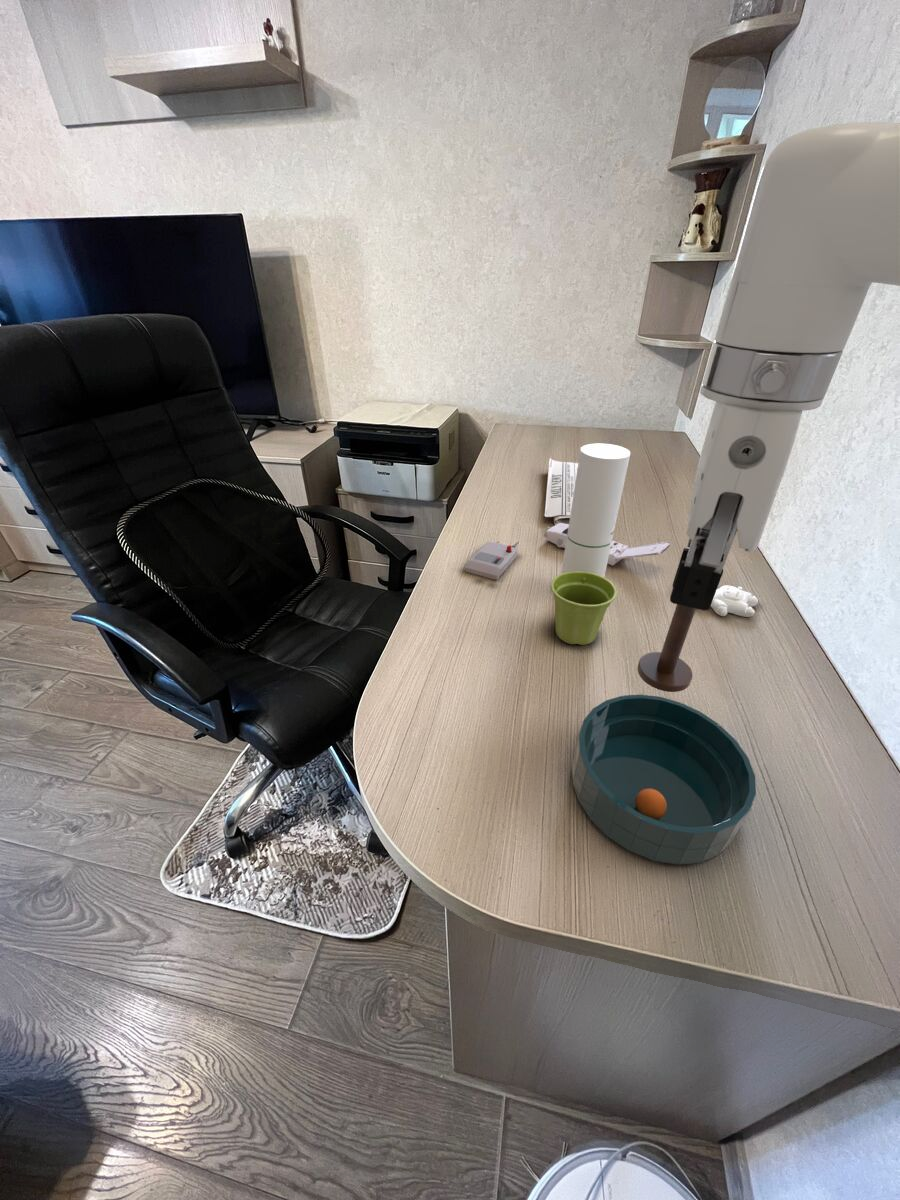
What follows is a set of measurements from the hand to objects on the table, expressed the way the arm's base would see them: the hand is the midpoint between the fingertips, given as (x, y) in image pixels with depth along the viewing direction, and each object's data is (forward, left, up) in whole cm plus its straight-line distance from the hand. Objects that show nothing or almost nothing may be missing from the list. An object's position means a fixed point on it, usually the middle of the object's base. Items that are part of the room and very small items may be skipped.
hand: (690, 597), depth 44 cm
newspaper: (+26, -75, -24) cm, 83 cm away
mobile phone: (+14, -49, -24) cm, 56 cm away
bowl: (-2, +2, -24) cm, 24 cm away
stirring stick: (0, 0, -9) cm, 9 cm away
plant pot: (+12, -22, -24) cm, 34 cm away
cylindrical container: (+14, -34, -24) cm, 44 cm away
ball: (-2, +6, -22) cm, 23 cm away
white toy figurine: (-8, -41, -24) cm, 48 cm away
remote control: (+31, -37, -24) cm, 54 cm away
